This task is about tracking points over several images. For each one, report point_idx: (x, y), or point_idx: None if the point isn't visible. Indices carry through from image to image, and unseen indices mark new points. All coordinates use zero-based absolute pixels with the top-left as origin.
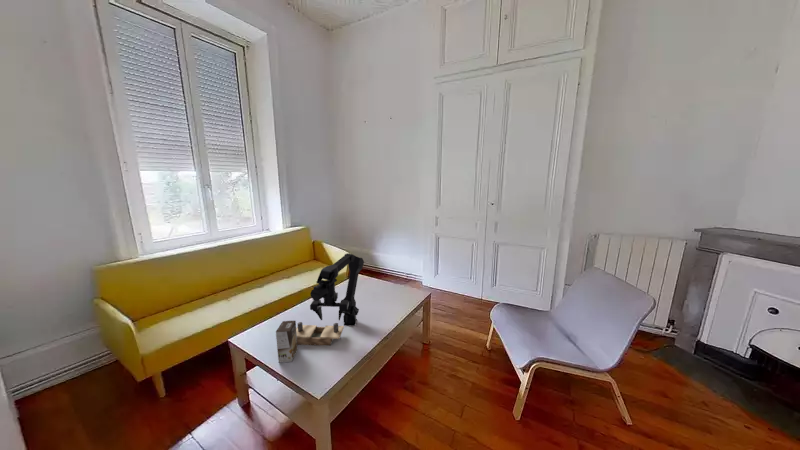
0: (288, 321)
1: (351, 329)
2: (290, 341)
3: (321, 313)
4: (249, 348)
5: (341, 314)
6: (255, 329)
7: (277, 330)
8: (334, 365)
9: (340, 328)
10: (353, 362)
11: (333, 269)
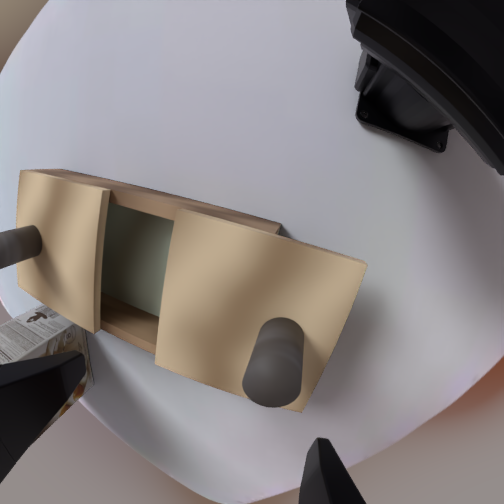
0: None
1: (413, 196)
2: (37, 438)
3: (22, 398)
4: None
5: (358, 495)
6: None
7: None
8: (267, 461)
9: (328, 302)
10: (349, 464)
11: None
